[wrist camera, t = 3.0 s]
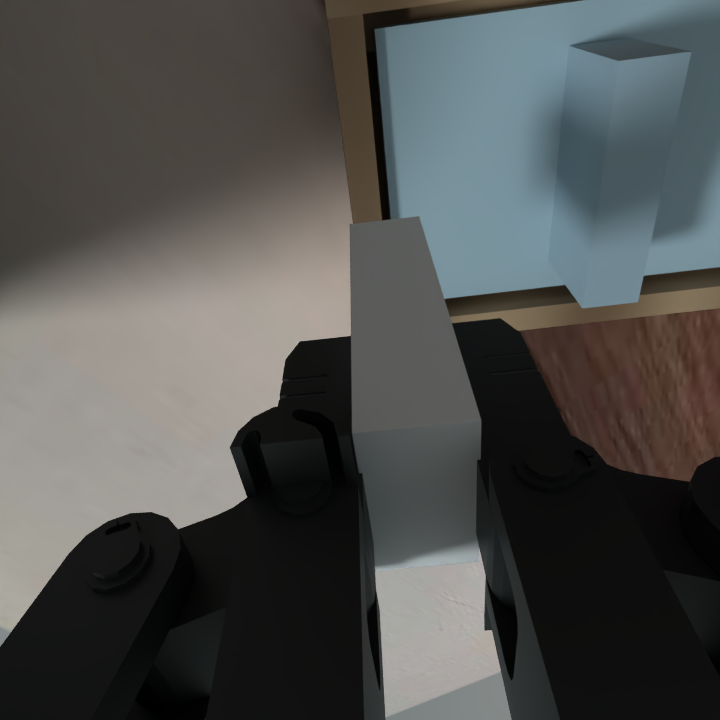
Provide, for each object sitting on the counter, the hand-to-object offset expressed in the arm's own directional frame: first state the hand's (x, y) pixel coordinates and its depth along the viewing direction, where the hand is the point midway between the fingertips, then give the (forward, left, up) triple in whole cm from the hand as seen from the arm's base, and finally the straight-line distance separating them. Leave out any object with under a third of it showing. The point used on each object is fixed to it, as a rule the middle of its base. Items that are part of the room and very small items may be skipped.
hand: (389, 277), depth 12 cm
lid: (+7, 0, -6) cm, 10 cm away
